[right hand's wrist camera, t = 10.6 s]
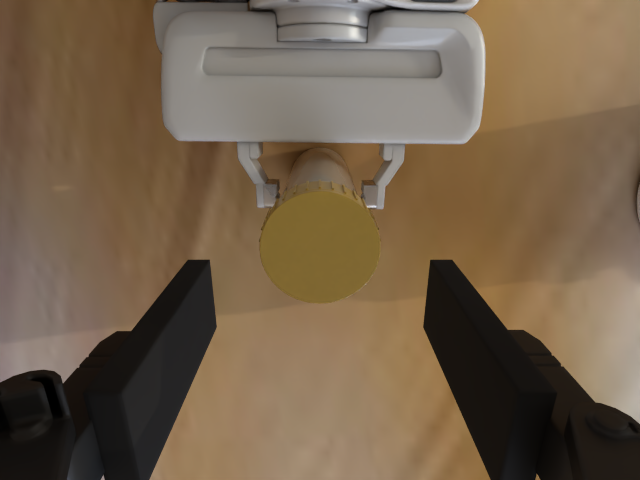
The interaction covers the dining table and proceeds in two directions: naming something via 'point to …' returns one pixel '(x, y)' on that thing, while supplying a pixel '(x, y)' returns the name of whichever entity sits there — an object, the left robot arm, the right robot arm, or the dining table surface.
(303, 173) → the bottle
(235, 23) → the left robot arm
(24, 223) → the dining table surface
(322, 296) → the lid
